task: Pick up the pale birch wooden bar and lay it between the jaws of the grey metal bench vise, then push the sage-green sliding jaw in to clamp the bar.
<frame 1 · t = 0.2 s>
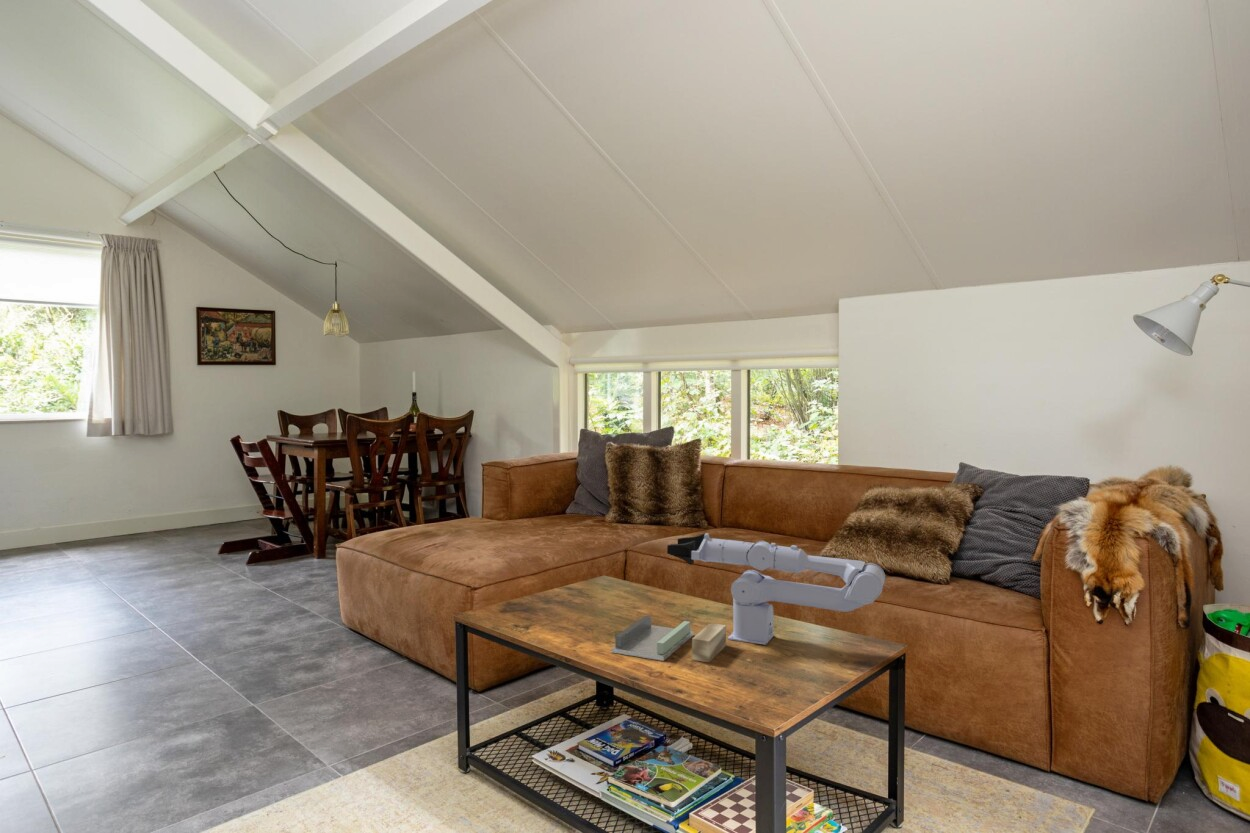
hand: (672, 545, 189), 21 cm above the table, tool horizontal, fingers open, 7 cm apart
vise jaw: (674, 636, 176), point 2 cm above the table, slide at 0.0 cm
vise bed: (653, 643, 178), on the table
wood bar: (709, 653, 172), on the table
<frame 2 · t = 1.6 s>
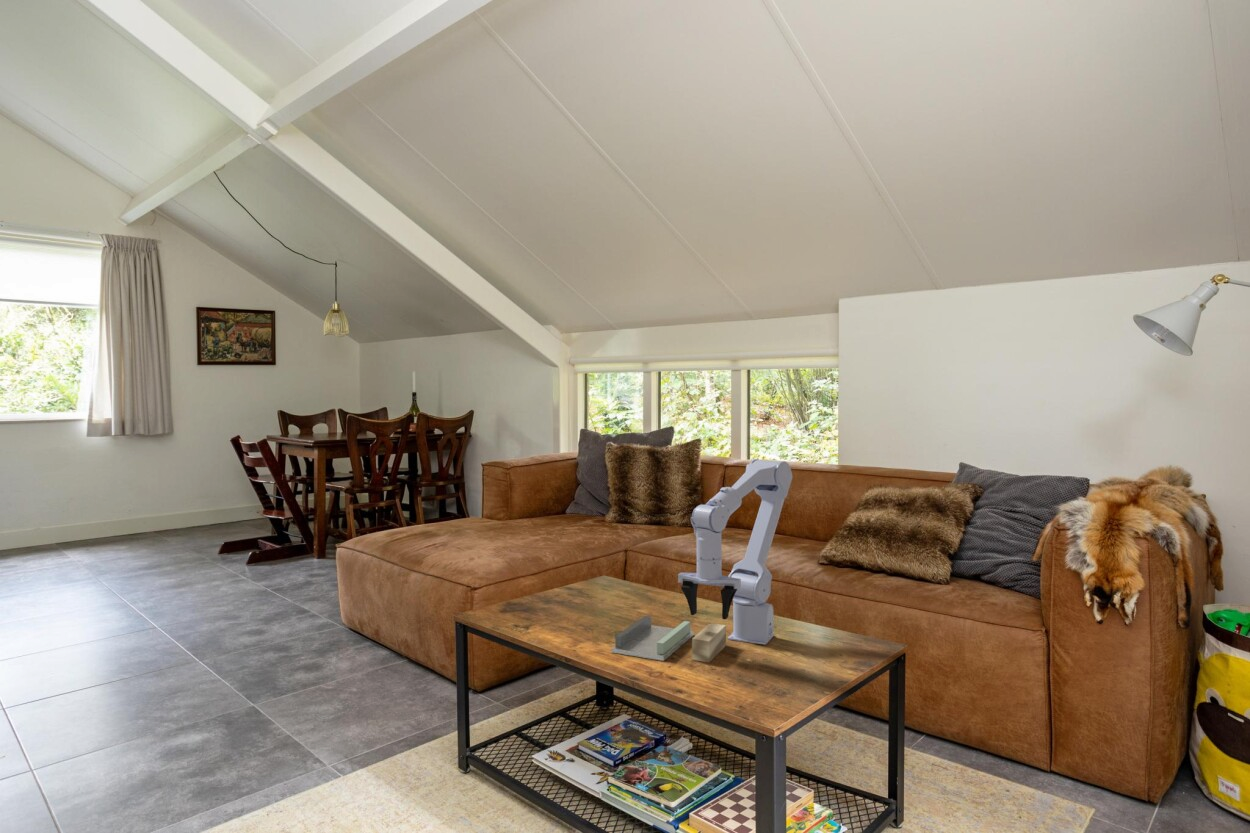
hand: (709, 616, 172), 8 cm above the table, tool pointing down, fingers open, 7 cm apart
nothing on the table moved.
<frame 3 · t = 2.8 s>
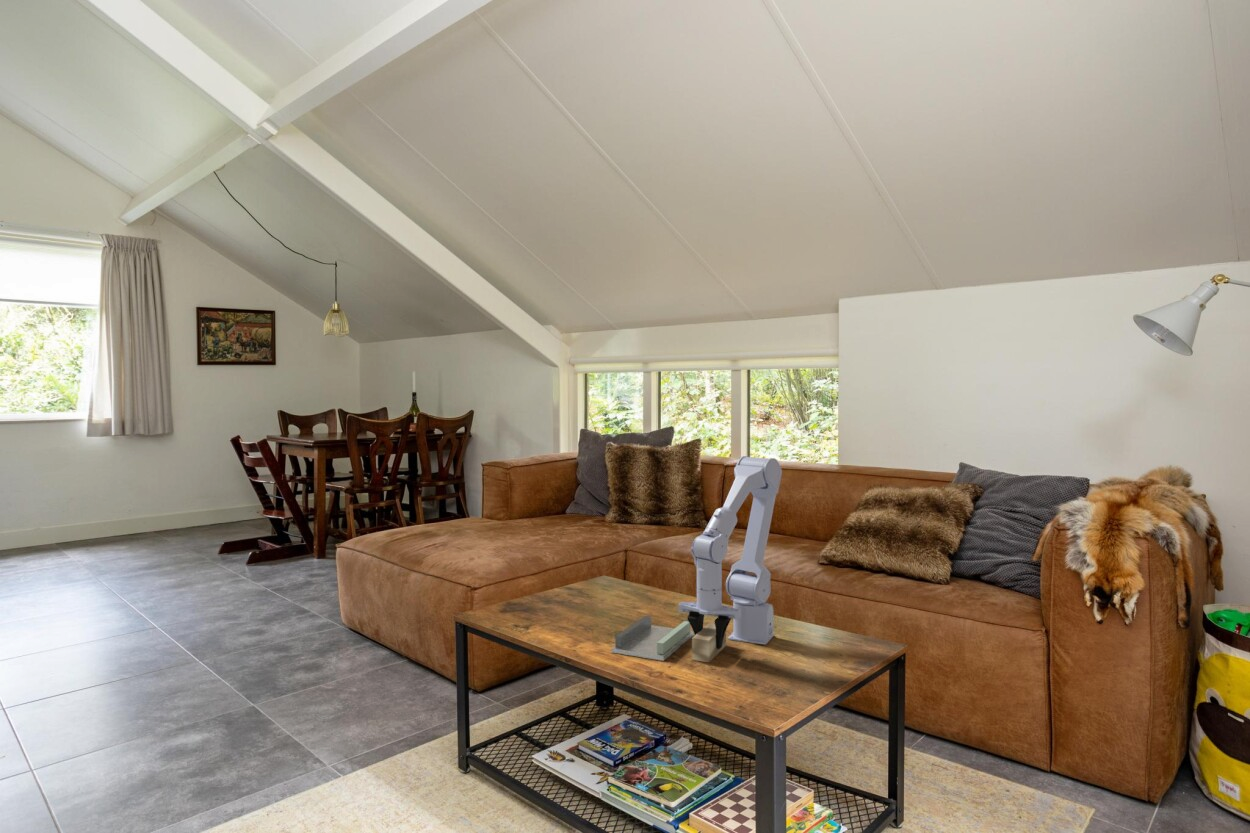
hand: (709, 646, 172), 1 cm above the table, tool pointing down, fingers closed on wood bar, 4 cm apart
wood bar: (709, 652, 172), on the table, touching gripper
everything else where it was.
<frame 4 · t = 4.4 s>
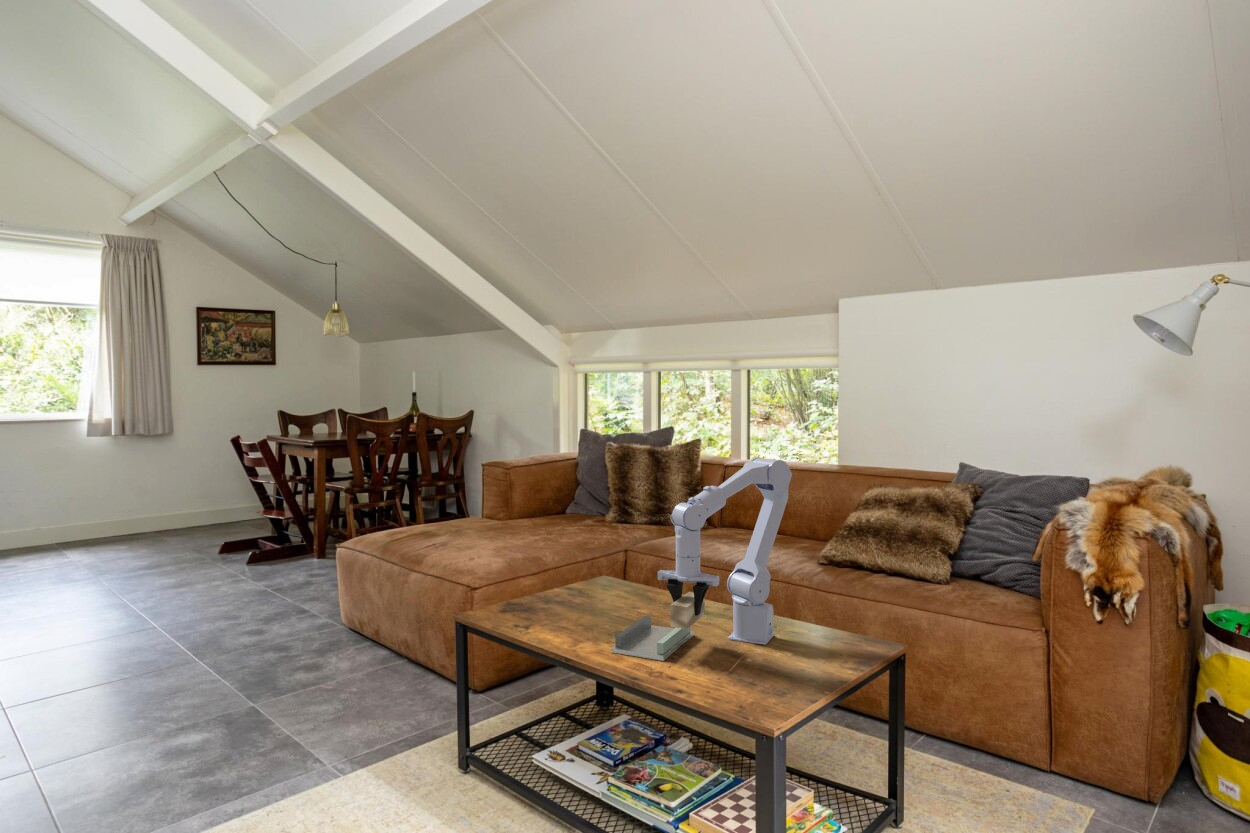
hand: (688, 613, 174), 8 cm above the table, tool pointing down, fingers closed on wood bar, 4 cm apart
wood bar: (687, 620, 174), point 7 cm above the table, touching gripper
everything else where it was.
when the fingers open (5 cm above the table, at t = 6.1 s): wood bar drops 2 cm, resting on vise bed.
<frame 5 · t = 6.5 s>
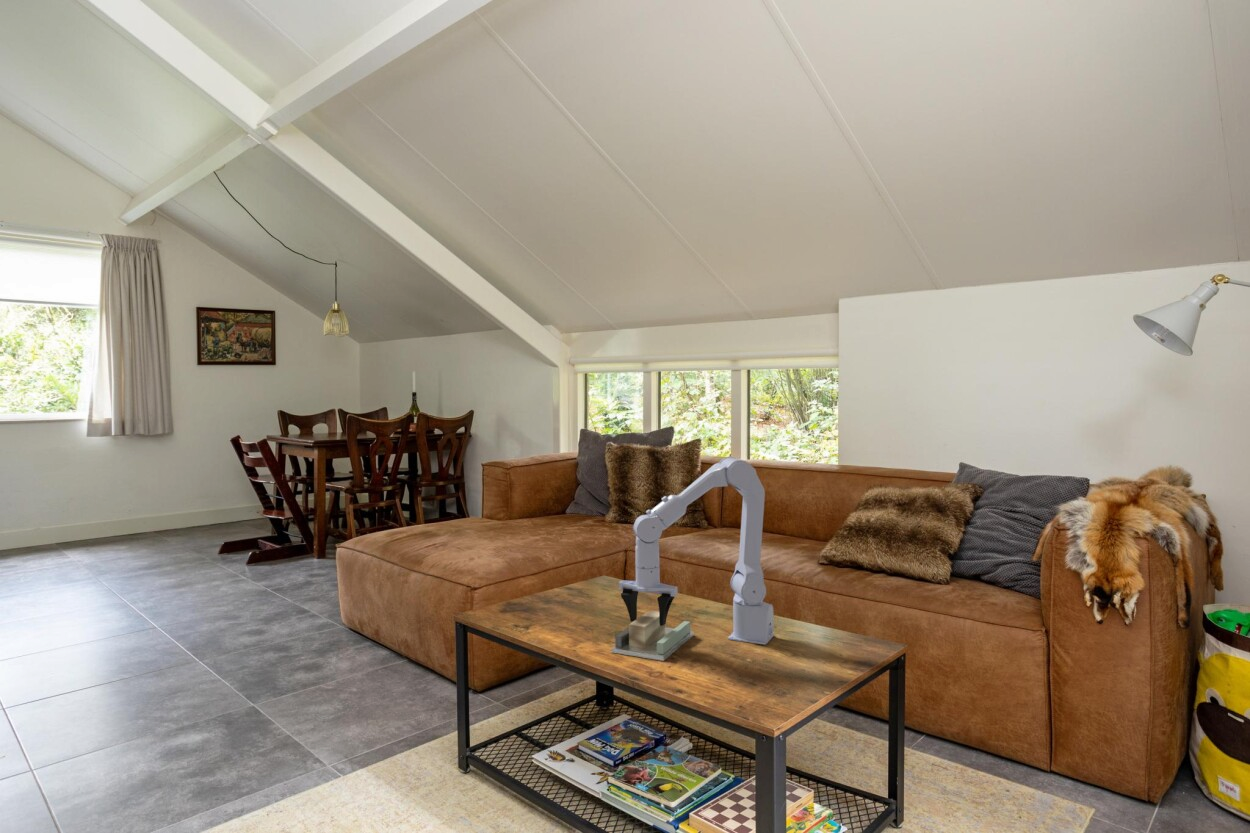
hand: (648, 622, 179), 5 cm above the table, tool pointing down, fingers open, 7 cm apart
wood bar: (647, 638, 179), point 1 cm above the table, touching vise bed
everything else where it was.
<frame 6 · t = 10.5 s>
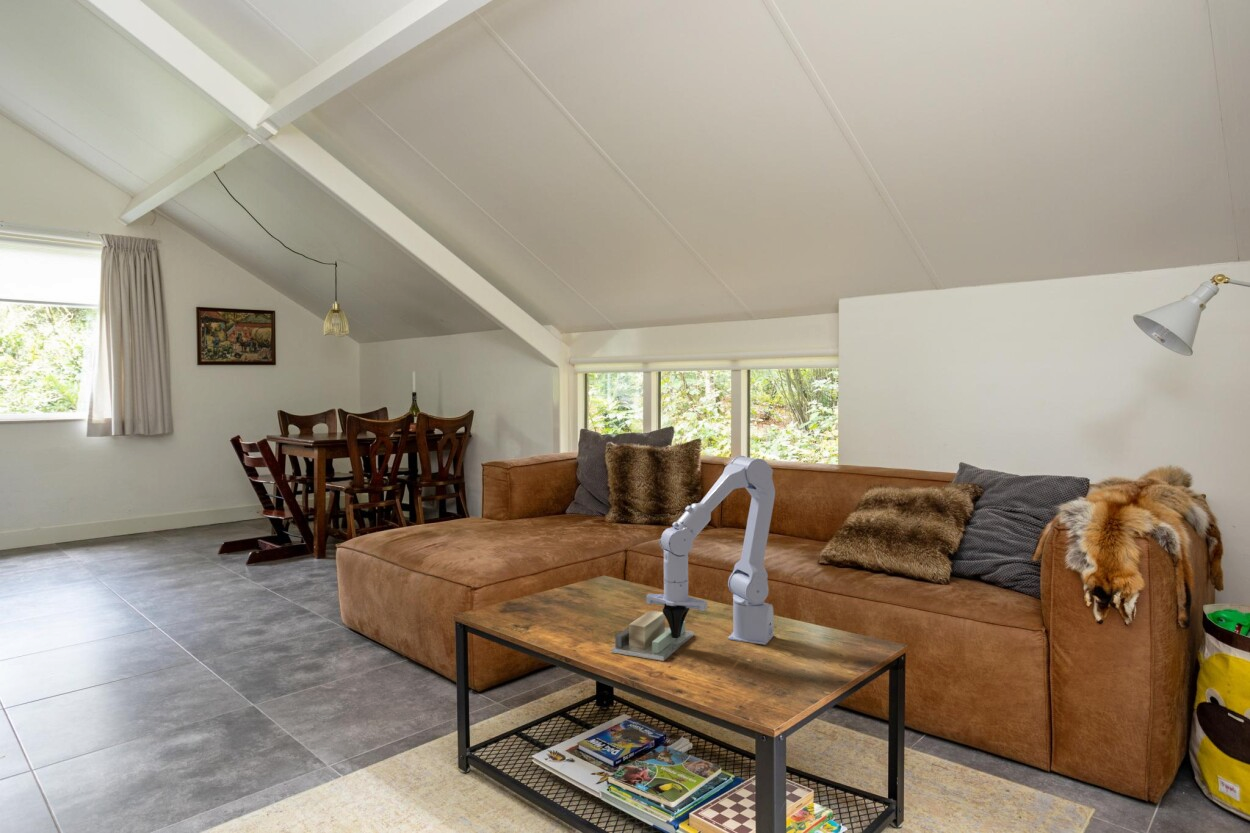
hand: (676, 636, 176), 2 cm above the table, tool pointing down, fingers closed
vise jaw: (669, 636, 176), point 2 cm above the table, slide at 1.2 cm, touching gripper
everything else where it was.
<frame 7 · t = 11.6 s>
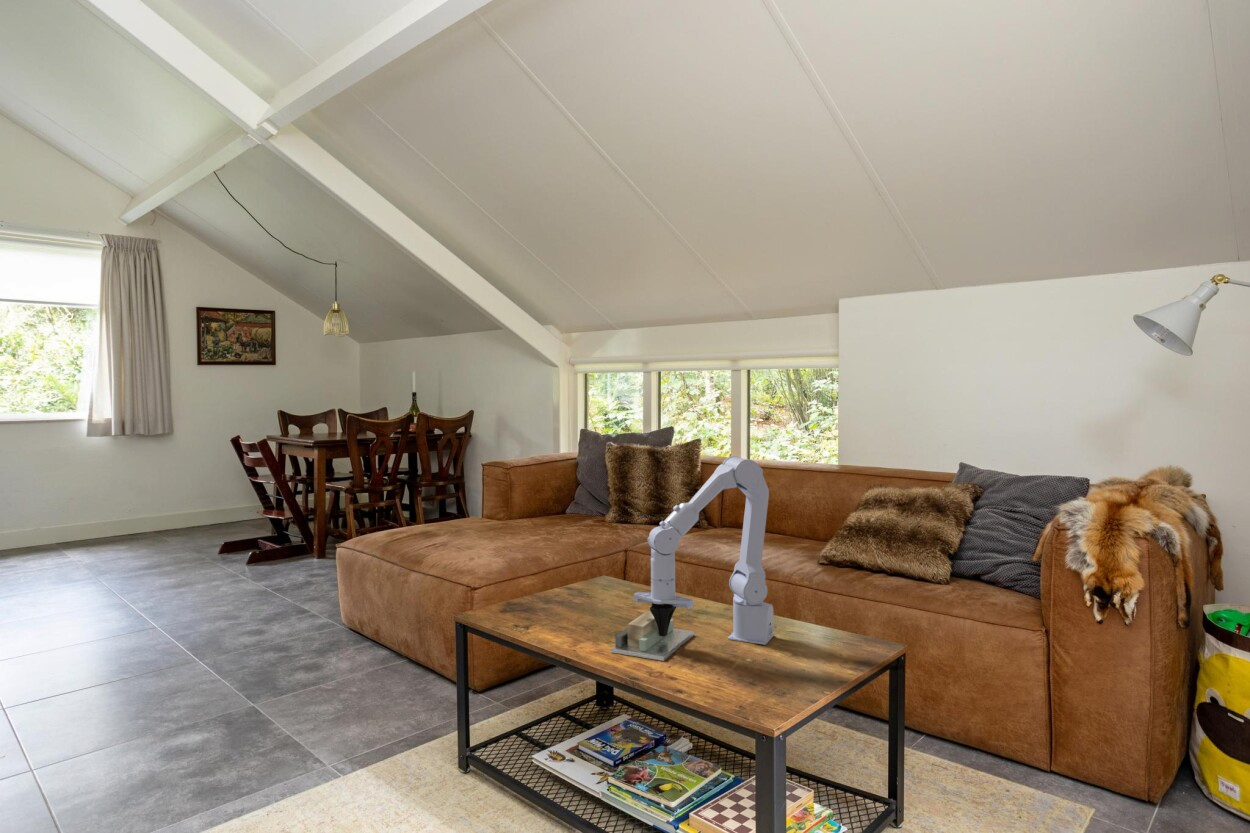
hand: (663, 635, 177), 2 cm above the table, tool pointing down, fingers closed
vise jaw: (657, 634, 178), point 2 cm above the table, slide at 4.4 cm, touching gripper, wood bar
wood bar: (646, 638, 179), point 1 cm above the table, touching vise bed, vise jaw
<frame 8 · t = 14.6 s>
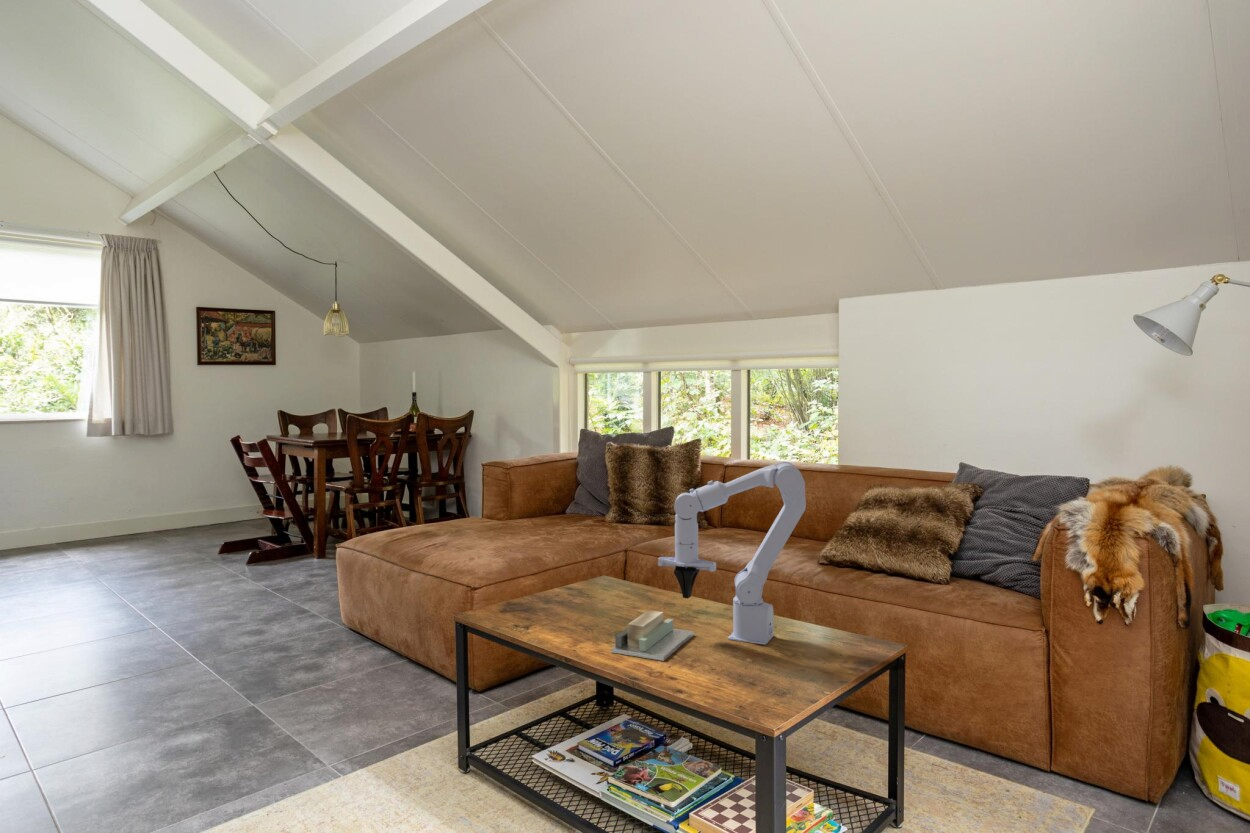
hand: (686, 597, 184), 9 cm above the table, tool pointing down, fingers closed
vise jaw: (657, 634, 178), point 2 cm above the table, slide at 4.4 cm, touching wood bar
everything else where it was.
at the end: wood bar 0.3 cm from the target spot on the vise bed, point 1.0 cm above the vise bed's base; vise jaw slide at 4.4 cm; the gripper is holding nothing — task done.
